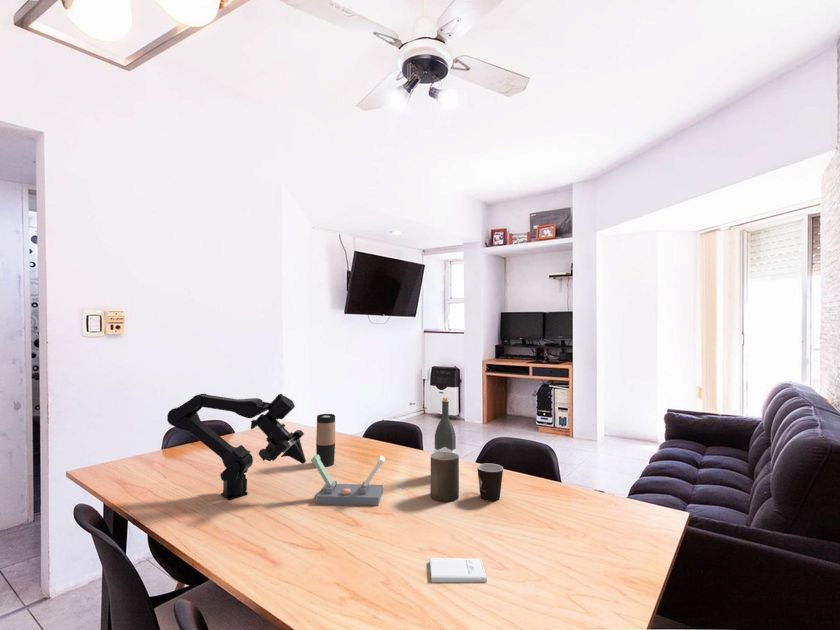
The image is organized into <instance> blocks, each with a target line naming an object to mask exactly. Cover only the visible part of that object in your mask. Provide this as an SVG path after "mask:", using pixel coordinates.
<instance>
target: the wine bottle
mask: <svg viewBox="0 0 840 630" xmlns="http://www.w3.org/2000/svg"><path fill="white" fill-rule="evenodd" d="M449 402H450V401H449V398H448V397H446V396H445V397H442V401H441V405H442V406H441V419H440V421H439V423H438V424H437V427H436V428H435V433H434V453H437V452H452V453H456V454H457V450H456V449H457V446H456V444H457V443H456V442H457V441H456V439H457V436H456V432H455V428H454V426H453V424H452V422H451V420H450V417H449V411H450V410H449V404H450V403H449Z"/></svg>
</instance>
